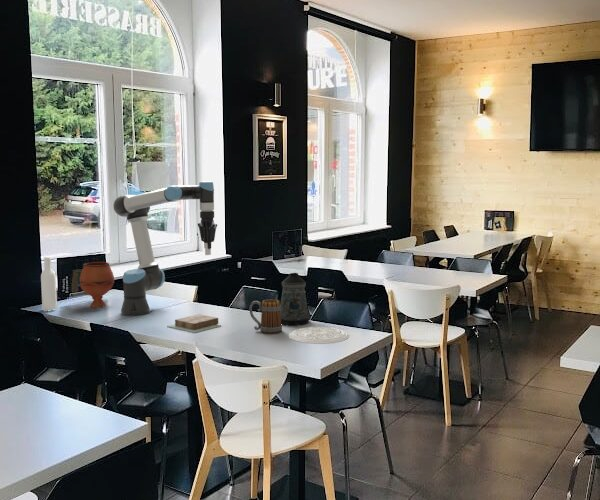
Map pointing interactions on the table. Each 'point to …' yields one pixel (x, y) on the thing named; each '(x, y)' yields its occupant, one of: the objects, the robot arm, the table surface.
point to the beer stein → (294, 301)
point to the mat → (192, 329)
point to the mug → (268, 316)
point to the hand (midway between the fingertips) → (208, 254)
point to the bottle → (48, 286)
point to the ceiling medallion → (318, 335)
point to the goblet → (96, 281)
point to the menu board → (196, 321)
